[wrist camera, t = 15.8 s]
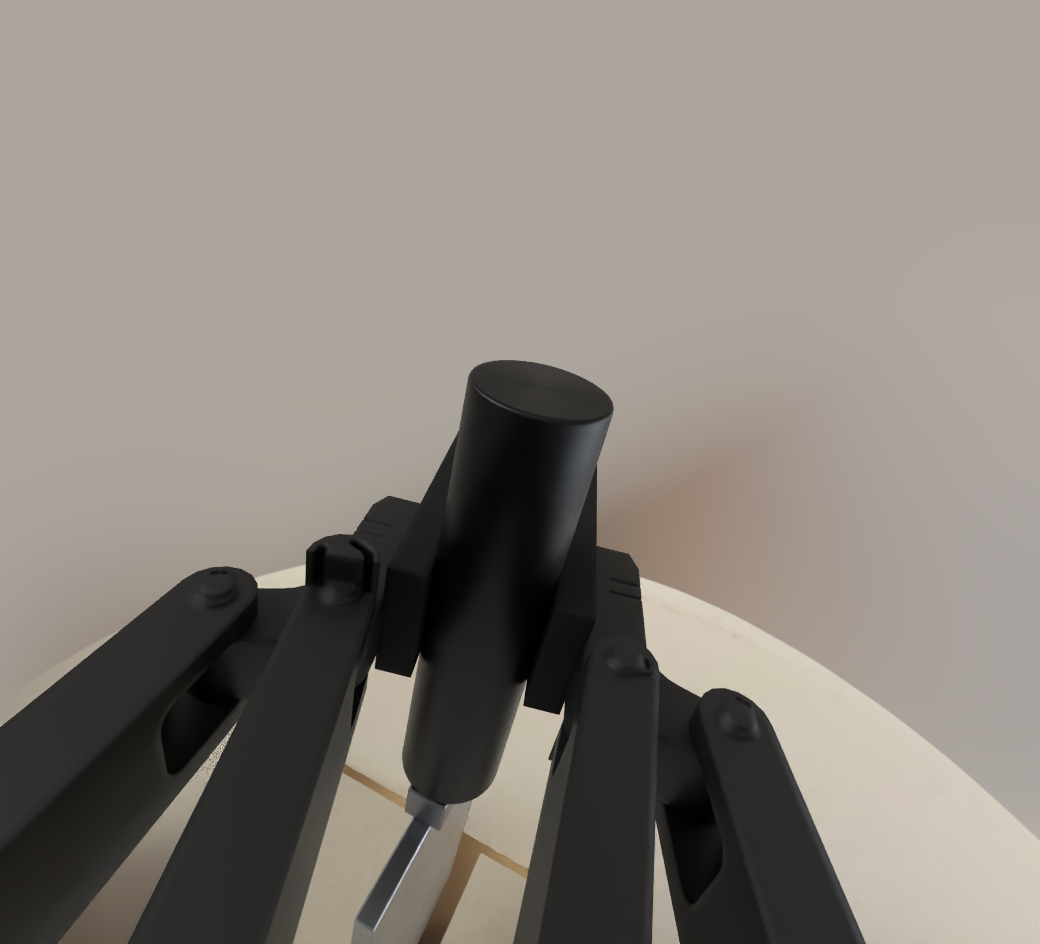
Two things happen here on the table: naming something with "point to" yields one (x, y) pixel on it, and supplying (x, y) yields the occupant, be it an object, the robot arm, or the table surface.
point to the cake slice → (487, 906)
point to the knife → (485, 613)
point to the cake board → (459, 872)
